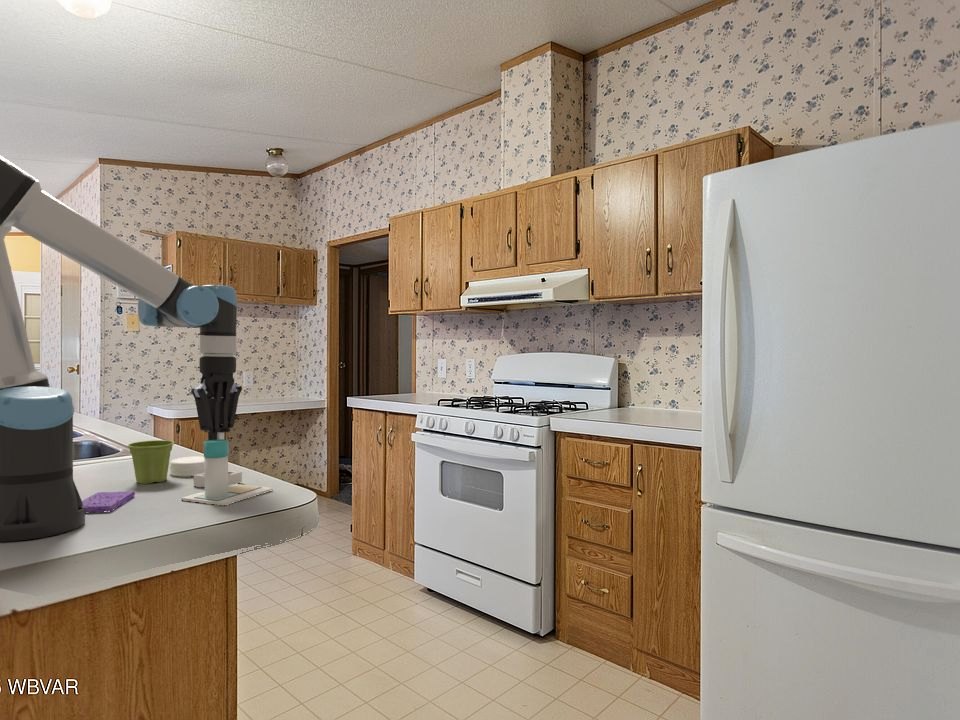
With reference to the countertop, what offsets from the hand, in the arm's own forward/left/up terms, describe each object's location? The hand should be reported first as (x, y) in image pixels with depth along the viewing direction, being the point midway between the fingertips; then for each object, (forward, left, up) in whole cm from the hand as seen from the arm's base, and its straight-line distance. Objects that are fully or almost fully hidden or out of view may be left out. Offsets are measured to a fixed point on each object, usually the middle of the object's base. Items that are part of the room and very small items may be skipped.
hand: (216, 461), depth 139 cm
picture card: (-7, -10, -5) cm, 13 cm away
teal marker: (-10, -10, -5) cm, 15 cm away
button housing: (0, 0, -5) cm, 5 cm away
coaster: (+8, +15, -6) cm, 18 cm away
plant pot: (-3, +16, -5) cm, 18 cm away
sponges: (-22, +7, -6) cm, 24 cm away
